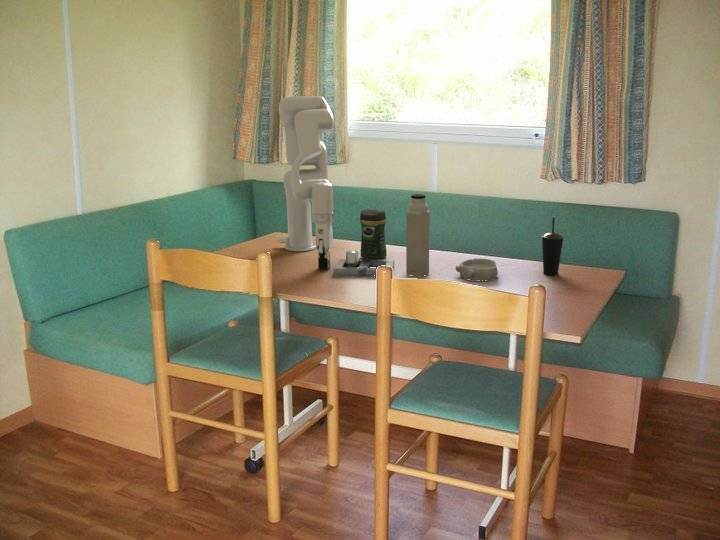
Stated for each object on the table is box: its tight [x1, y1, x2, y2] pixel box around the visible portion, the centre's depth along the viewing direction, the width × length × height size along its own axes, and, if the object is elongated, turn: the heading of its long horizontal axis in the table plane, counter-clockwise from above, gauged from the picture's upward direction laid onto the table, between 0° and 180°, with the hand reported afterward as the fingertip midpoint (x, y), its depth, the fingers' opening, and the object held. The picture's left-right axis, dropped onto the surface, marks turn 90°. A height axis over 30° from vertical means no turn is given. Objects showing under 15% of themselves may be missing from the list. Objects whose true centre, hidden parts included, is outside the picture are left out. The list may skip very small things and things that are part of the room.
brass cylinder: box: [318, 248, 331, 271], centre depth 278 cm, size 4×4×7 cm
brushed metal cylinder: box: [345, 249, 359, 268], centre depth 275 cm, size 4×4×7 cm
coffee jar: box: [359, 208, 387, 260], centre depth 291 cm, size 10×8×19 cm
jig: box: [333, 258, 395, 277], centre depth 275 cm, size 20×14×2 cm
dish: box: [455, 258, 499, 282], centre depth 266 cm, size 14×14×5 cm
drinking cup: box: [540, 217, 565, 277], centre depth 265 cm, size 8×8×20 cm
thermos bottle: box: [405, 193, 431, 277], centre depth 267 cm, size 8×8×28 cm
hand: (324, 266), depth 279 cm, fingers closed on brass cylinder, 4 cm apart
